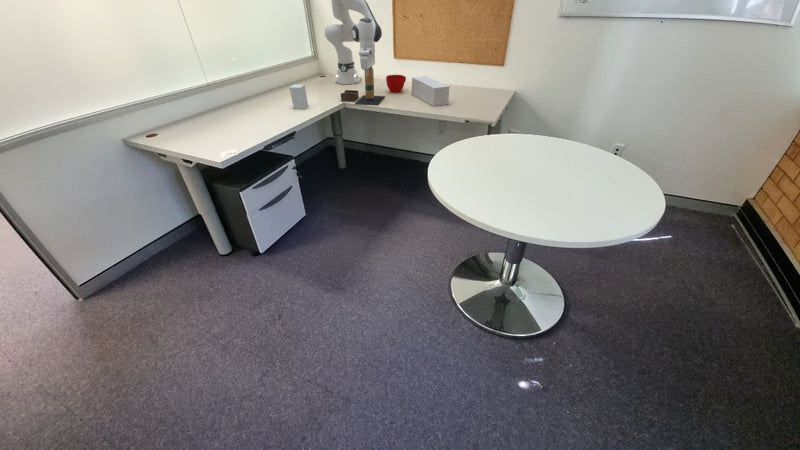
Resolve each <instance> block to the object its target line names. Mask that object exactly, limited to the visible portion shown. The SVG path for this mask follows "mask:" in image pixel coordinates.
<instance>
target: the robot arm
mask: <svg viewBox="0 0 800 450" xmlns="http://www.w3.org/2000/svg"><path fill="white" fill-rule="evenodd" d="M330 2H331V9H332V16H333V17H334V18H335V19H336V20H338V21H340V22H341V24H340V23H339V24H330V25H327V26H326V27H325V28H324V37H325V39H326V40H327V41H328V42H329V43H330V44H332V46H333V47H334V49H335V51H336V57H337V68H338V69H337V70H336V75H335V77H336V80H335V82H336V83H337V84H339V85H353V84H359V83H360V81H361V77H359V75H358V71H357V69H356V68H355V61H353V60H354V58H353V51H352V49H351V48H349V47H347V46H346V45H344V43H350V42H351V43H353V42H356V43H359V51H358V56H359V62H360V68H361V70H362V71H364V70H365V72H364V74H365V73H366V76H369V71H368V70H369V68H372V69H373V66H374V65H375V64H376V55H375V54H376V43H378V42H379V41H380V40H381V38H382V35H383V33H382V32H383V31H382V27H381V26H380V24H379V23H378V22H377V20H376V18H375V16H374V14H373V12H372V10H371V8H370V5H369V3H368V2H367V1H366V0H330ZM350 11H354V12H357V13H359V14H361V15H362V16H363V18H360V19H359V21H358V23H355V22H354V21H353V19H352V18H351V14H350Z"/></svg>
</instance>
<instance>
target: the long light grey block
mask: <svg viewBox="0 0 800 450" xmlns="http://www.w3.org/2000/svg"><path fill="white" fill-rule="evenodd" d="M411 95H412V96H414V97H416V98H418V99H420V100H421V101H423V102H425V103H426V104H429V105H431V106H432V107H438V106H445V105H449V101H450V100H449V98H450V85H448V84H446V83H443V82H441V81H438V80H436V79H434V78H432V77H429V76H428V75H424V76H423V75H422V76H413V77H411Z"/></svg>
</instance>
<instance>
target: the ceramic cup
mask: <svg viewBox="0 0 800 450" xmlns="http://www.w3.org/2000/svg"><path fill="white" fill-rule="evenodd" d="M385 81H386V86H387V88H388V90H389V91H390V92H391V93H392V94H399V93H401V91H402V90H403V88H404V86H405V83H406V81H407V77H406V76H405V75H403V74H388V75H386V76H385Z"/></svg>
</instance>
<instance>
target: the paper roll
mask: <svg viewBox="0 0 800 450" xmlns="http://www.w3.org/2000/svg"><path fill="white" fill-rule="evenodd" d="M363 71H364V90H365V91H364V93H365V95H366V98H374V96H375V78H374V74H375V73H374V68H373V67H372V68H369V70H368V71H369V76H366V73H365V70H363Z"/></svg>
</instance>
